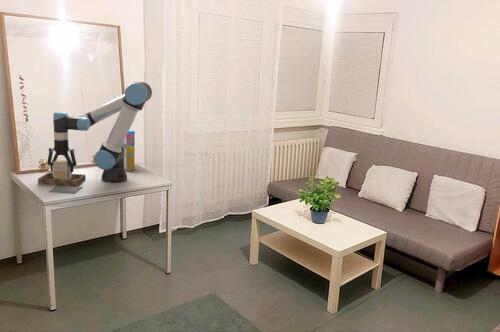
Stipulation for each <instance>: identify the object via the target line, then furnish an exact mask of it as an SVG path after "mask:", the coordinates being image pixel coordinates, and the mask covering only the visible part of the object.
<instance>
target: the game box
mask: <svg viewBox="0 0 500 332" xmlns="http://www.w3.org/2000/svg"><path fill="white" fill-rule="evenodd" d="M135 132H136V131H135V130H133V129H131V128H130V129H129V131H128V133H127V135H126V137H125V140H124V142H123V144H124V148H125V150H124V168H125V171H126V172H135Z"/></svg>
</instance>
